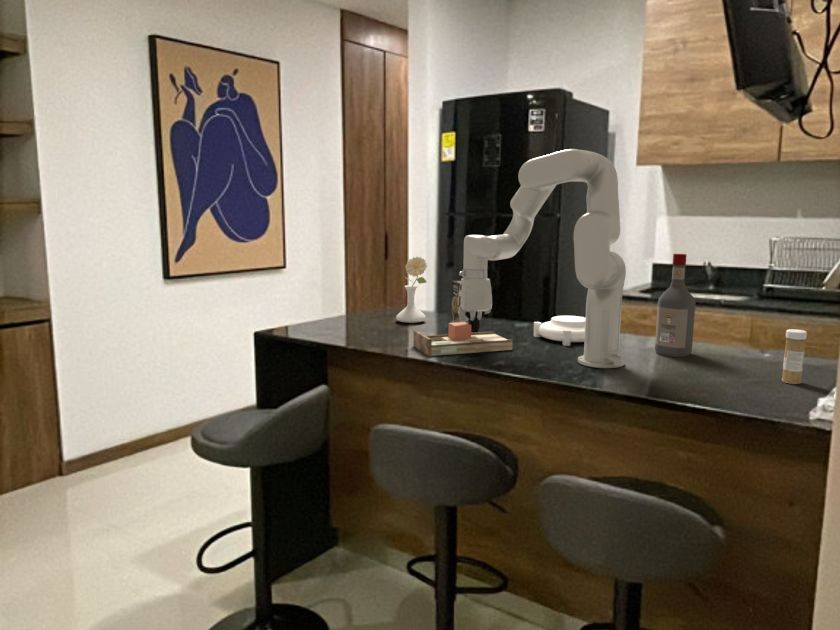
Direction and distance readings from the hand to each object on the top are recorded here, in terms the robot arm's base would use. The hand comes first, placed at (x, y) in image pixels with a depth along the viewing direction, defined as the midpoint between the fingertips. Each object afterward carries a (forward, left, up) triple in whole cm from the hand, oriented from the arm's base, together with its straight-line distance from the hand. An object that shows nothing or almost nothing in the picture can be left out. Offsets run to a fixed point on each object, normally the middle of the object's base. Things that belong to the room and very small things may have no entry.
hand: (474, 331), depth 210 cm
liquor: (-30, -52, -4) cm, 61 cm away
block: (0, +5, -2) cm, 5 cm away
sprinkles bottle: (-66, -59, -4) cm, 89 cm away
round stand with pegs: (-1, -34, -5) cm, 35 cm away
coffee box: (+32, -9, -4) cm, 34 cm away
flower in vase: (+43, +7, -4) cm, 44 cm away
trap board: (-3, +5, -4) cm, 7 cm away
